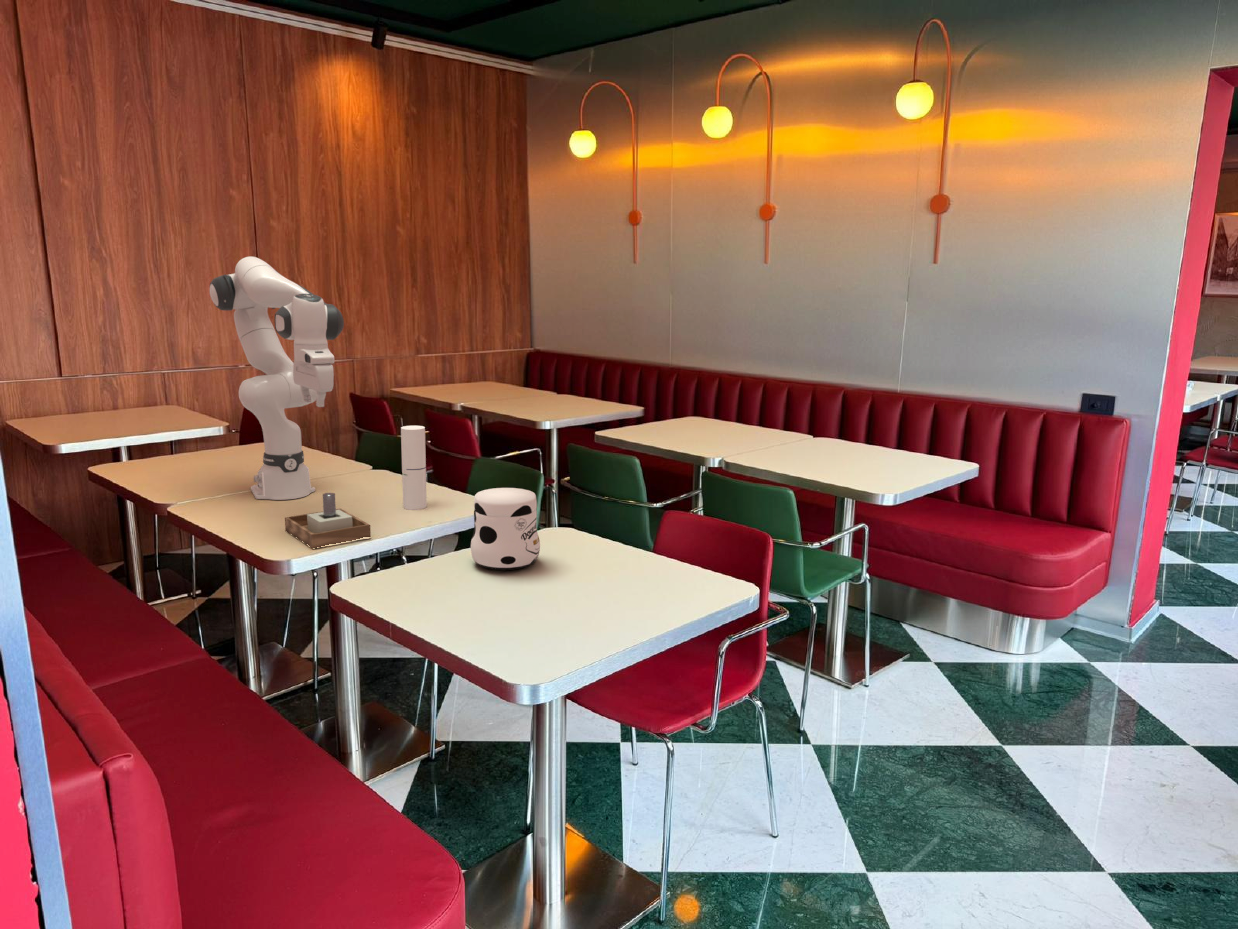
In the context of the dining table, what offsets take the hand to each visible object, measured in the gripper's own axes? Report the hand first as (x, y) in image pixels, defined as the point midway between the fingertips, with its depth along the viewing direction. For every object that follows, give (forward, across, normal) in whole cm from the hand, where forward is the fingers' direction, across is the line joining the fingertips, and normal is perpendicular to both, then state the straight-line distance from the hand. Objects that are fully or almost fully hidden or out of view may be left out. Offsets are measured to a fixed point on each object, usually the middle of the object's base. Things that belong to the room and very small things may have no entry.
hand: (313, 404), depth 241 cm
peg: (+34, +13, -2) cm, 36 cm away
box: (+35, +11, -2) cm, 36 cm away
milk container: (+35, +60, +24) cm, 73 cm away
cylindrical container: (+35, -2, +31) cm, 47 cm away
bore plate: (+35, +13, -2) cm, 37 cm away
